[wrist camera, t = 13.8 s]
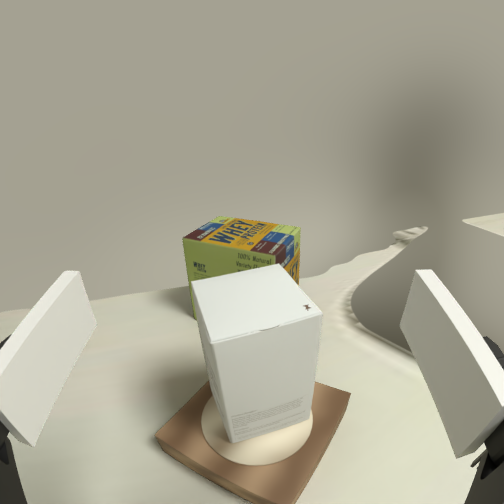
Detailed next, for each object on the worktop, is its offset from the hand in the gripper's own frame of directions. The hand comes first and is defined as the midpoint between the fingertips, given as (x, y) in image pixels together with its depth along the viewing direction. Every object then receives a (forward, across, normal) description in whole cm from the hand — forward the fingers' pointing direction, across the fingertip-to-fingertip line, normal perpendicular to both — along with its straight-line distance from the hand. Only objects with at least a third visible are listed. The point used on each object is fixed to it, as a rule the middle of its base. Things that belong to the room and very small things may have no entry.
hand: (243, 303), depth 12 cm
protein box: (+34, -2, -28) cm, 44 cm away
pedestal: (+10, 0, -27) cm, 29 cm away
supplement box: (+12, 0, -23) cm, 26 cm away
